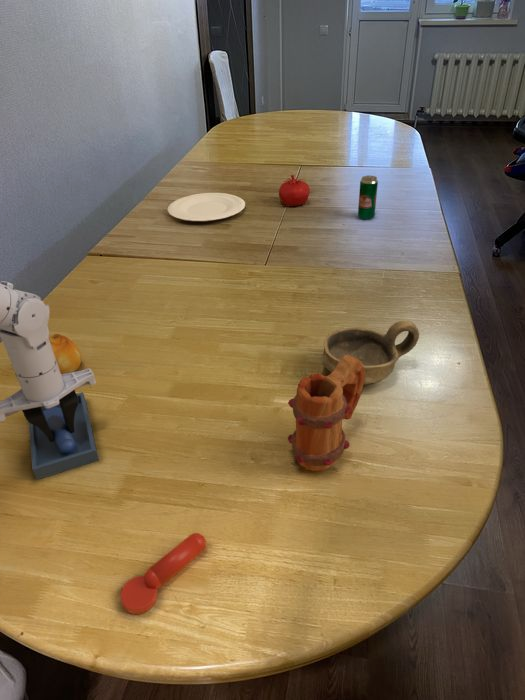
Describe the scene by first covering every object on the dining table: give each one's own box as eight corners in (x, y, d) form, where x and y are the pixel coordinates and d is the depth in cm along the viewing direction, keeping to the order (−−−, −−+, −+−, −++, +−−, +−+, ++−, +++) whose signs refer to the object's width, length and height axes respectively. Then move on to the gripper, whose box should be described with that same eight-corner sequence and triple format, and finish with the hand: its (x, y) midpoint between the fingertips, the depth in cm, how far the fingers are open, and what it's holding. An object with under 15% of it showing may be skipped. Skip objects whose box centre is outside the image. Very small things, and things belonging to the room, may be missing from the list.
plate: (233, 228, 154) (233, 222, 153) (155, 223, 159) (154, 217, 158) (254, 199, 174) (253, 194, 173) (184, 196, 179) (183, 190, 178)
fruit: (97, 354, 100) (68, 322, 96) (70, 382, 94) (39, 349, 91) (74, 363, 105) (46, 333, 101) (47, 390, 99) (17, 359, 96)
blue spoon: (85, 450, 81) (81, 438, 79) (58, 462, 79) (53, 450, 77) (61, 408, 89) (57, 397, 88) (36, 418, 87) (32, 407, 86)
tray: (98, 460, 80) (95, 450, 79) (36, 479, 78) (32, 469, 76) (86, 401, 92) (83, 391, 90) (31, 416, 89) (27, 406, 88)
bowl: (313, 353, 101) (314, 310, 95) (401, 345, 102) (407, 302, 96) (328, 399, 90) (330, 353, 84) (426, 390, 91) (435, 343, 85)
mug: (318, 489, 74) (322, 411, 65) (277, 460, 79) (275, 384, 70) (376, 435, 83) (386, 359, 74) (335, 412, 87) (340, 338, 79)
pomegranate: (312, 207, 166) (312, 178, 160) (281, 210, 165) (281, 180, 159) (306, 197, 174) (306, 169, 168) (276, 199, 173) (276, 171, 167)
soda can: (354, 218, 157) (357, 178, 150) (362, 213, 160) (365, 174, 153) (369, 221, 154) (373, 181, 147) (377, 216, 158) (381, 176, 151)
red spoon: (194, 533, 69) (192, 521, 67) (215, 553, 67) (213, 541, 65) (115, 597, 62) (111, 585, 61) (135, 622, 60) (130, 610, 58)
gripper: (-13, 400, 68) (19, 470, 76) (94, 360, 75) (113, 428, 83) (-23, 374, 73) (8, 442, 81) (78, 338, 80) (97, 404, 87)
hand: (60, 433), depth 82 cm, fingers closed on blue spoon, 2 cm apart
